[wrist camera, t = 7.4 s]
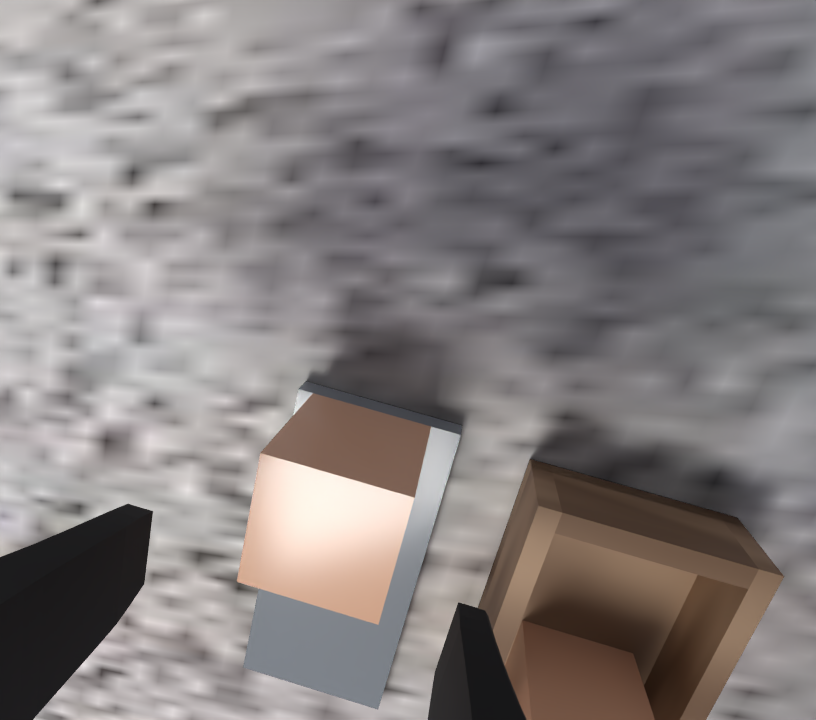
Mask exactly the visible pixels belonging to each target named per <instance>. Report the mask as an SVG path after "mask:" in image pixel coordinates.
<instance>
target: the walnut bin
mask: <svg viewBox="0 0 816 720" xmlns="http://www.w3.org/2000/svg"><path fill="white" fill-rule="evenodd" d="M783 578H784V576H783V574H782V573H781V572H780V571H779V569H778V568H777V567H776V566H775V564H774V563H773V562H772V561H771V559H770V558H769V557H768V556H767V554H766V553H765V552H764V551H763V549H762V548H761V547H760V546H759V544H758V543H757V542H756V541H755V539H754V538H753V537H752V535H751V534H750V533H749V532H748V530H747V529H746V528H745V527H744V525H743V524H742V523H741V522H740V520H739V519H738V518H737V517H733V516H730V515H726V514H722V513H719V512H715V511H712V510H708V509H705V508H701V507H698V506H694V505H691V504H687V503H684V502H680V501H677V500H673V499H670V498H666V497H662V496H659V495H655V494H652V493H648V492H645V491H641V490H638V489H634V488H631V487H627V486H624V485H620V484H617V483H613V482H610V481H606V480H603V479H599V478H595V477H592V476H588V475H585V474H581V473H578V472H574V471H571V470H567V469H564V468H560V467H557V466H553V465H550V464H546V463H543V462H539V461H535V460H532V459H530V461H529V464H528V466H527V469H526V472H525V475H524V478H523V481H522V484H521V486H520V489H519V492H518V495H517V498H516V501H515V504H514V506H513V509H512V512H511V515H510V518H509V521H508V524H507V526H506V529H505V532H504V535H503V538H502V541H501V544H500V546H499V549H498V552H497V555H496V558H495V561H494V564H493V566H492V569H491V572H490V575H489V578H488V581H487V584H486V586H485V589H484V592H483V595H482V598H481V601H480V604H479V606H478V608H479V609H482V610H485V611H486V613H487V615H488V616H489V620H490V623H491V627H492V630H493V633H494V636H495V639H496V642H497V645H498V648H499V651H500V654H501V657H502V660H503V663H504V665H505V664H506V661H507V659H508V656H509V654H510V651H511V648H512V646H513V643H514V641H515V638H516V635H517V633H518V630H519V628H520V625H521V622H522V620H524V621H527V622H530V623H533V624H537V625H540V626H543V627H547V628H550V629H553V630H557V631H560V632H563V633H567V634H570V635H573V636H577V637H580V638H583V639H587V640H590V641H593V642H597V643H600V644H603V645H607V646H610V647H613V648H617V649H620V650H623V651H627V652H630V653H633V655H634V658H635V661H636V664H637V667H638V670H639V673H640V676H641V679H642V682H643V685H644V688H645V691H646V694H647V697H648V700H649V703H650V706H651V709H652V712H653V715H654V718H655V720H706V719H707V717H708V715H709V713H710V711H711V710H712V708H713V706H714V704H715V702H716V700H717V699H718V697H719V695H720V693H721V691H722V689H723V688H724V686H725V684H726V682H727V680H728V678H729V677H730V675H731V673H732V671H733V669H734V667H735V666H736V664H737V662H738V660H739V658H740V656H741V655H742V653H743V651H744V649H745V647H746V646H747V644H748V642H749V640H750V638H751V636H752V635H753V633H754V631H755V629H756V627H757V625H758V624H759V622H760V620H761V618H762V616H763V614H764V613H765V611H766V609H767V607H768V605H769V603H770V602H771V600H772V598H773V596H774V594H775V592H776V591H777V589H778V587H779V585H780V583H781V581H782V580H783Z"/></svg>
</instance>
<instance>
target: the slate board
mask: <svg viewBox="0 0 816 720" xmlns="http://www.w3.org/2000/svg"><path fill="white" fill-rule="evenodd" d="M313 393H314V394H318V395H321V396H325V397H328V398H332V399H336V400H339V401H343V402H346V403H350V404H353V405H357V406H360V407H364V408H367V409H371V410H374V411H378V412H381V413H385V414H389V415H392V416H396V417H399V418H403V419H406V420H410V421H413V422H417V423H420V424H424V425H427V426H431V429H430V434H429V438H428V442H427V447H426V451H425V455H424V460H423V464H422V468H421V472H420V477H419V481H418V485H417V490H416V494H415V498H414V502H413V505H412V509H411V512H410V516H409V519H408V523H407V526H406V530H405V533H404V537H403V540H402V544H401V547H400V551H399V554H398V558H397V561H396V565H395V568H394V572H393V575H392V579H391V582H390V586H389V589H388V593H387V596H386V600H385V603H384V607H383V610H382V614H381V617H380V621H379V624H378V625H377V624H374V623H371V622H367V621H364V620H361V619H357V618H354V617H351V616H348V615H344V614H341V613H338V612H335V611H331V610H328V609H325V608H321V607H318V606H315V605H312V604H308V603H305V602H302V601H298V600H295V599H292V598H289V597H285V596H282V595H279V594H275V593H272V592H269V591H266V590H262V589H259V590H258V595H257V600H256V605H255V610H254V615H253V620H252V626H251V631H250V636H249V641H248V646H247V651H246V656H245V661H244V666H243V667H244V668H247V669H250V670H253V671H257V672H260V673H263V674H266V675H269V676H272V677H276V678H279V679H282V680H285V681H288V682H292V683H295V684H298V685H301V686H304V687H308V688H311V689H314V690H317V691H320V692H324V693H327V694H330V695H333V696H336V697H340V698H343V699H346V700H349V701H352V702H356V703H359V704H362V705H365V706H368V707H372V708H375V709H378V708H379V704H380V701H381V698H382V695H383V691H384V688H385V685H386V681H387V678H388V675H389V671H390V668H391V665H392V662H393V658H394V655H395V652H396V648H397V645H398V642H399V638H400V635H401V632H402V629H403V625H404V622H405V619H406V615H407V612H408V609H409V605H410V602H411V599H412V596H413V592H414V589H415V586H416V582H417V579H418V576H419V572H420V569H421V566H422V563H423V559H424V556H425V553H426V549H427V546H428V543H429V539H430V536H431V533H432V530H433V526H434V523H435V520H436V516H437V513H438V510H439V506H440V503H441V500H442V496H443V493H444V490H445V487H446V483H447V480H448V477H449V473H450V470H451V467H452V463H453V460H454V457H455V454H456V450H457V447H458V444H459V440H460V437H461V431H462V425H459V424H455V423H452V422H448V421H445V420H441V419H438V418H434V417H430V416H427V415H423V414H420V413H416V412H413V411H409V410H406V409H402V408H398V407H395V406H391V405H388V404H384V403H381V402H377V401H374V400H370V399H367V398H363V397H359V396H356V395H352V394H349V393H345V392H342V391H338V390H335V389H331V388H328V387H324V386H320V385H317V384H313V383H310V382H305V383H304V384H303V385H302V386H301V387H300V388H299V389H298V394H297V399H296V404H295V409H294V414H295V413H296V412H297V411H298V410H299V408H300V407H301V406H302V405H303V404H304V403H305V402H306V401H307V399H308V398H309V397H310V396H311V395H312V394H313ZM294 414H293V415H294Z"/></svg>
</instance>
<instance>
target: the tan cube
mask: <svg viewBox="0 0 816 720" xmlns="http://www.w3.org/2000/svg"><path fill="white" fill-rule="evenodd" d="M430 429H431V426H427V425H424V424H420V423H417V422H413V421H410V420H406V419H403V418H399V417H396V416H392V415H389V414H385V413H381V412H378V411H374V410H371V409H367V408H364V407H360V406H357V405H353V404H350V403H346V402H343V401H339V400H336V399H332V398H328V397H325V396H321V395H318V394H314V393H313V394H312V395H311V396H310V397H309V398H308V399H307V401H306V402H305V403H304V404H303V405H302V406H301V407H300V408H299V410H298V411H297V412H296V413H295V414H294V415H293V416H292V418H291V419H290V420H289V421H288V422H287V423H286V424H285V426H284V427H283V428H282V429H281V430H280V431H279V432H278V434H277V435H276V436H275V437H274V438H273V439H272V440H271V441H270V443H269V444H268V445H267V446H266V447H265V448H264V449H263V451H262V452H261V453H260V458H259V463H258V469H257V474H256V480H255V485H254V491H253V496H252V502H251V507H250V513H249V518H248V524H247V529H246V535H245V540H244V545H243V551H242V556H241V562H240V567H239V573H238V578H237V582H239V583H243V584H246V585H249V586H252V587H256V588H259V589H262V590H266V591H269V592H272V593H275V594H279V595H282V596H285V597H289V598H292V599H295V600H298V601H302V602H305V603H308V604H312V605H315V606H318V607H321V608H325V609H328V610H331V611H335V612H338V613H341V614H344V615H348V616H351V617H354V618H357V619H361V620H364V621H367V622H371V623H374V624H377V625H378V624H379V621H380V617H381V614H382V610H383V607H384V603H385V600H386V596H387V593H388V589H389V586H390V582H391V579H392V575H393V572H394V568H395V565H396V561H397V558H398V554H399V551H400V547H401V544H402V540H403V537H404V533H405V530H406V526H407V523H408V519H409V516H410V512H411V509H412V505H413V502H414V498H415V494H416V490H417V485H418V481H419V477H420V472H421V468H422V464H423V460H424V455H425V451H426V447H427V442H428V438H429V434H430Z"/></svg>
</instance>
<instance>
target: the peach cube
mask: <svg viewBox="0 0 816 720" xmlns="http://www.w3.org/2000/svg"><path fill="white" fill-rule="evenodd" d="M505 668H506V671H507V673H508V676H509V679H510V681H511V684H512V686H513V688H514V691H515V693H516V696H517V698H518V701H519V703H520V706H521V708H522V710H523V713H524V715H525V717H526V719H527V720H655V718H654V715H653V712H652V709H651V706H650V703H649V700H648V697H647V694H646V691H645V688H644V685H643V682H642V679H641V676H640V673H639V670H638V667H637V664H636V661H635V658H634V655H633V653H630V652H627V651H623V650H620V649H617V648H613V647H610V646H607V645H603V644H600V643H597V642H593V641H590V640H587V639H583V638H580V637H577V636H573V635H570V634H567V633H563V632H560V631H557V630H553V629H550V628H547V627H543V626H540V625H537V624H533V623H530V622H527V621H524V620H522V622H521V625H520V628H519V630H518V633H517V635H516V638H515V641H514V643H513V646H512V648H511V651H510V654H509V656H508V659H507V661H506V664H505Z"/></svg>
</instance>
